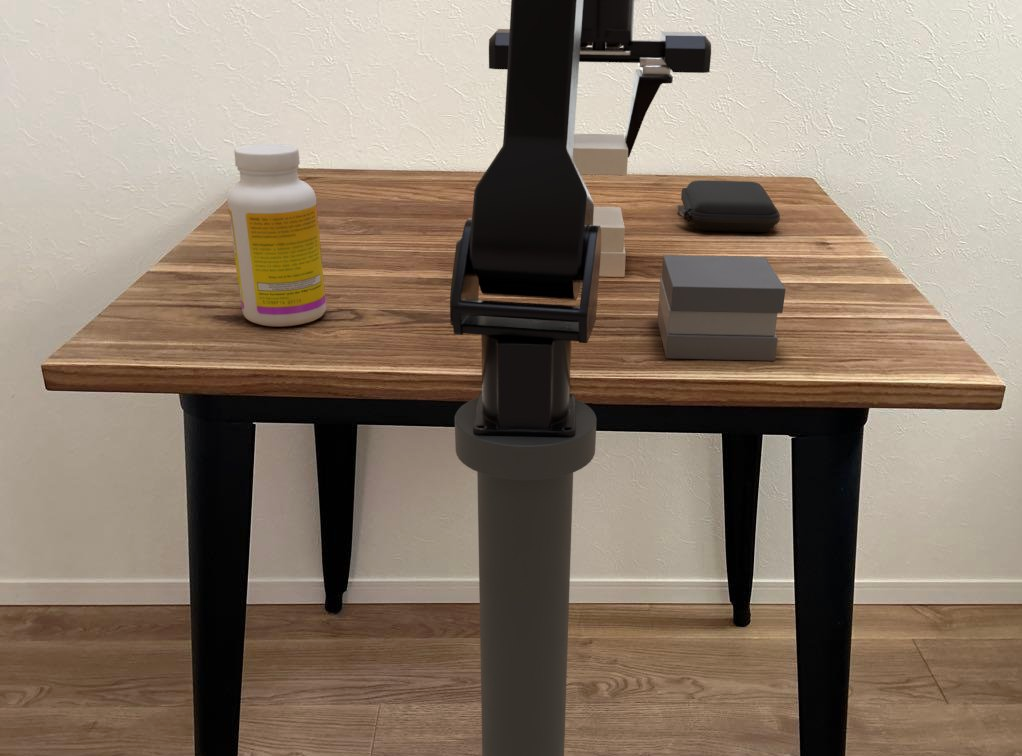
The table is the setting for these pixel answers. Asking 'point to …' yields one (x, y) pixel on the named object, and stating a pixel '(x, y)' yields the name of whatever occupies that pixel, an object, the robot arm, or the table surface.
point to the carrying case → (728, 206)
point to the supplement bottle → (275, 238)
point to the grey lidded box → (719, 307)
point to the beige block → (611, 241)
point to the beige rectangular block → (600, 154)
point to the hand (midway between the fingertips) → (594, 156)
